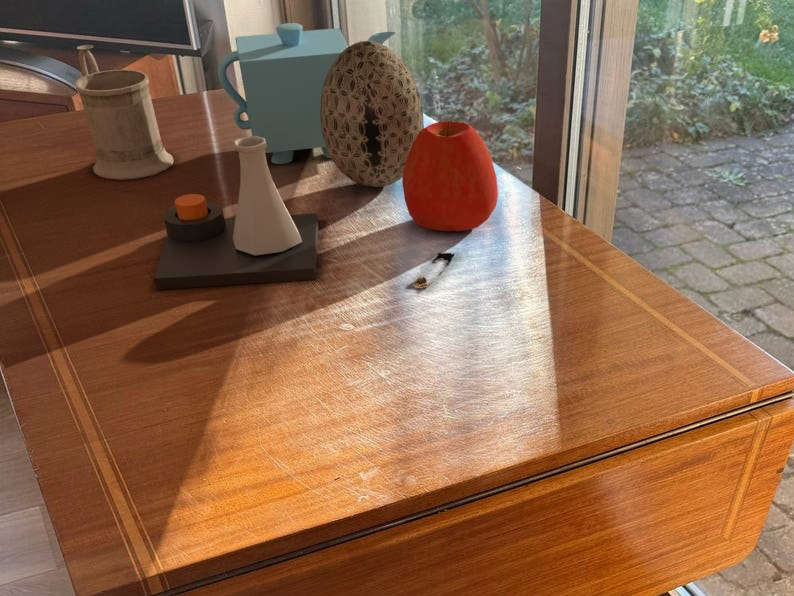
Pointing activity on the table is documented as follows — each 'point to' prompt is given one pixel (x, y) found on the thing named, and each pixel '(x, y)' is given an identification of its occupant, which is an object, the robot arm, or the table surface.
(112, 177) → the mug
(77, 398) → the table surface
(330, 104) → the decorative egg
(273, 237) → the flask
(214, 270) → the scale
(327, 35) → the teapot
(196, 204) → the button
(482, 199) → the apple
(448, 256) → the fossil
